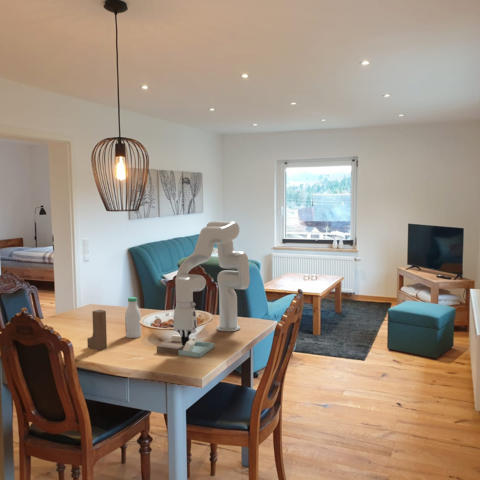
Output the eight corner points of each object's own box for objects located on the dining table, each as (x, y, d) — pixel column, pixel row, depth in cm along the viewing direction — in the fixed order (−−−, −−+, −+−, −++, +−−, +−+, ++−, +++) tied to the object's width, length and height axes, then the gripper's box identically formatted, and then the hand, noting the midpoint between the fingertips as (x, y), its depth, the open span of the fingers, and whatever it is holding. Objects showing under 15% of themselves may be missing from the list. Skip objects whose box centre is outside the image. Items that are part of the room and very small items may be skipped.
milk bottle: (144, 335, 235) (143, 297, 234) (133, 339, 228) (132, 299, 227) (133, 333, 239) (132, 295, 237) (122, 337, 232) (121, 298, 231)
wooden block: (87, 347, 216) (86, 309, 215) (95, 345, 220) (94, 308, 218) (99, 350, 211) (98, 312, 209) (107, 348, 214) (106, 310, 213)
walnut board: (174, 342, 223) (174, 336, 222) (194, 345, 219) (194, 338, 218) (156, 352, 208) (156, 346, 208) (178, 355, 204) (177, 348, 204)
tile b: (191, 339, 208) (196, 341, 207) (187, 348, 209) (192, 351, 208) (186, 342, 203) (190, 345, 202) (182, 351, 204) (186, 354, 203)
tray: (194, 345, 218) (194, 340, 218) (214, 347, 214) (214, 343, 214) (178, 355, 204) (178, 350, 204) (199, 357, 200) (199, 353, 200)
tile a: (177, 337, 220) (177, 332, 220) (186, 338, 218) (186, 333, 218) (172, 340, 216) (171, 335, 215) (181, 341, 214) (181, 336, 213)
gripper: (203, 304, 206) (203, 344, 207) (174, 301, 211) (174, 340, 213) (195, 307, 199) (196, 348, 200) (165, 305, 205) (166, 345, 206)
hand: (185, 344), depth 207 cm, fingers closed
